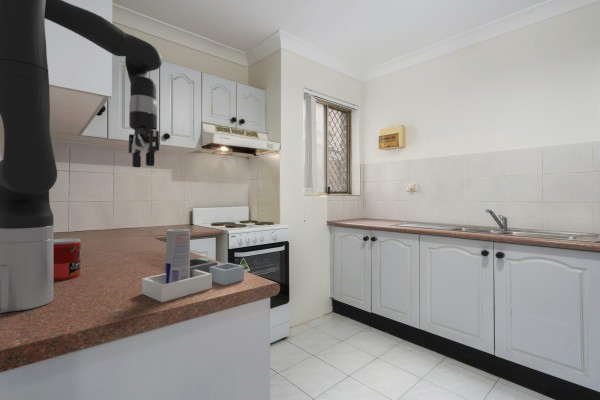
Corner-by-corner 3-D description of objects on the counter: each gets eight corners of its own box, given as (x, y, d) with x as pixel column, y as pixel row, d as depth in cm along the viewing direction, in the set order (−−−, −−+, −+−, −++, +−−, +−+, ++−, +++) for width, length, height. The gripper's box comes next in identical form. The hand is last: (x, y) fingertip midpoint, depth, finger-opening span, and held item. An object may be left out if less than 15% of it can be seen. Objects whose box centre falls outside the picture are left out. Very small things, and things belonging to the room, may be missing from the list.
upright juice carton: (193, 284, 79) (194, 228, 79) (183, 291, 74) (183, 230, 73) (173, 283, 80) (173, 227, 80) (161, 290, 74) (161, 230, 74)
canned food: (76, 279, 86) (76, 241, 86) (41, 282, 83) (41, 242, 83) (84, 273, 93) (84, 237, 93) (52, 275, 90) (52, 238, 90)
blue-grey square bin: (224, 285, 82) (224, 270, 82) (209, 280, 86) (209, 266, 86) (244, 279, 87) (244, 266, 87) (228, 275, 92) (228, 262, 92)
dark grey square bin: (185, 285, 81) (185, 267, 81) (164, 278, 88) (164, 262, 88) (217, 277, 90) (217, 261, 90) (196, 271, 96) (196, 256, 96)
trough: (162, 302, 68) (162, 285, 68) (141, 293, 74) (142, 278, 74) (211, 288, 79) (212, 273, 79) (190, 281, 85) (190, 268, 85)
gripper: (119, 114, 93) (119, 166, 93) (142, 106, 84) (141, 164, 84) (144, 119, 99) (144, 168, 99) (167, 112, 90) (167, 166, 90)
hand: (143, 166), depth 92 cm, fingers open, 8 cm apart
